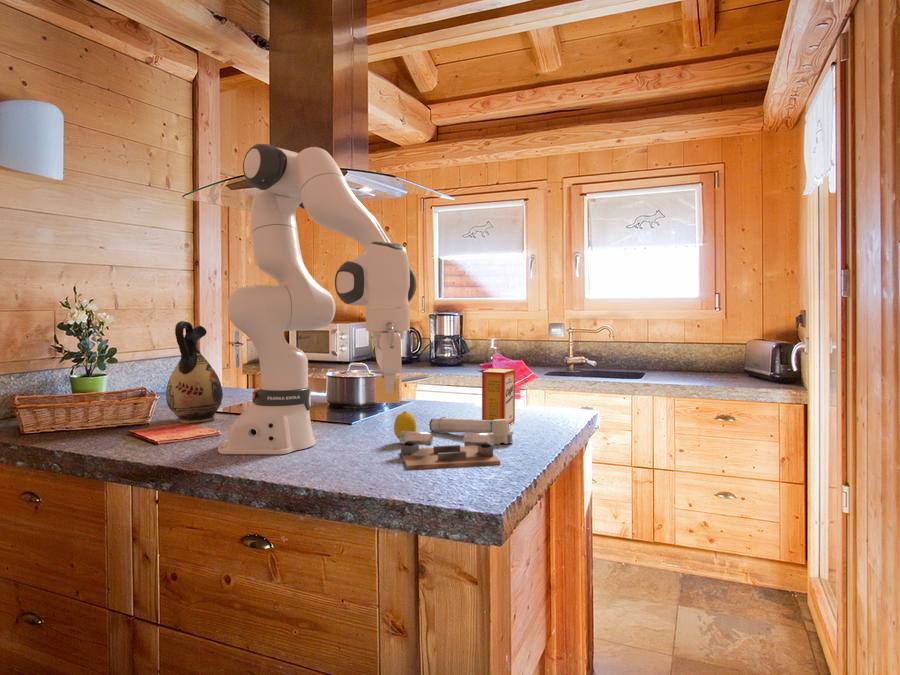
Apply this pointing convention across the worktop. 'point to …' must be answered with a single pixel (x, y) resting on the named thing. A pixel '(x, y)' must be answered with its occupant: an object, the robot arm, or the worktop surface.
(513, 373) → the baking soda box
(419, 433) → the shaft
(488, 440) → the shaft
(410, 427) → the lemon
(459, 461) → the shaft bench
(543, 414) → the worktop surface
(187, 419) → the ceramic jug
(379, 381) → the coupling block
